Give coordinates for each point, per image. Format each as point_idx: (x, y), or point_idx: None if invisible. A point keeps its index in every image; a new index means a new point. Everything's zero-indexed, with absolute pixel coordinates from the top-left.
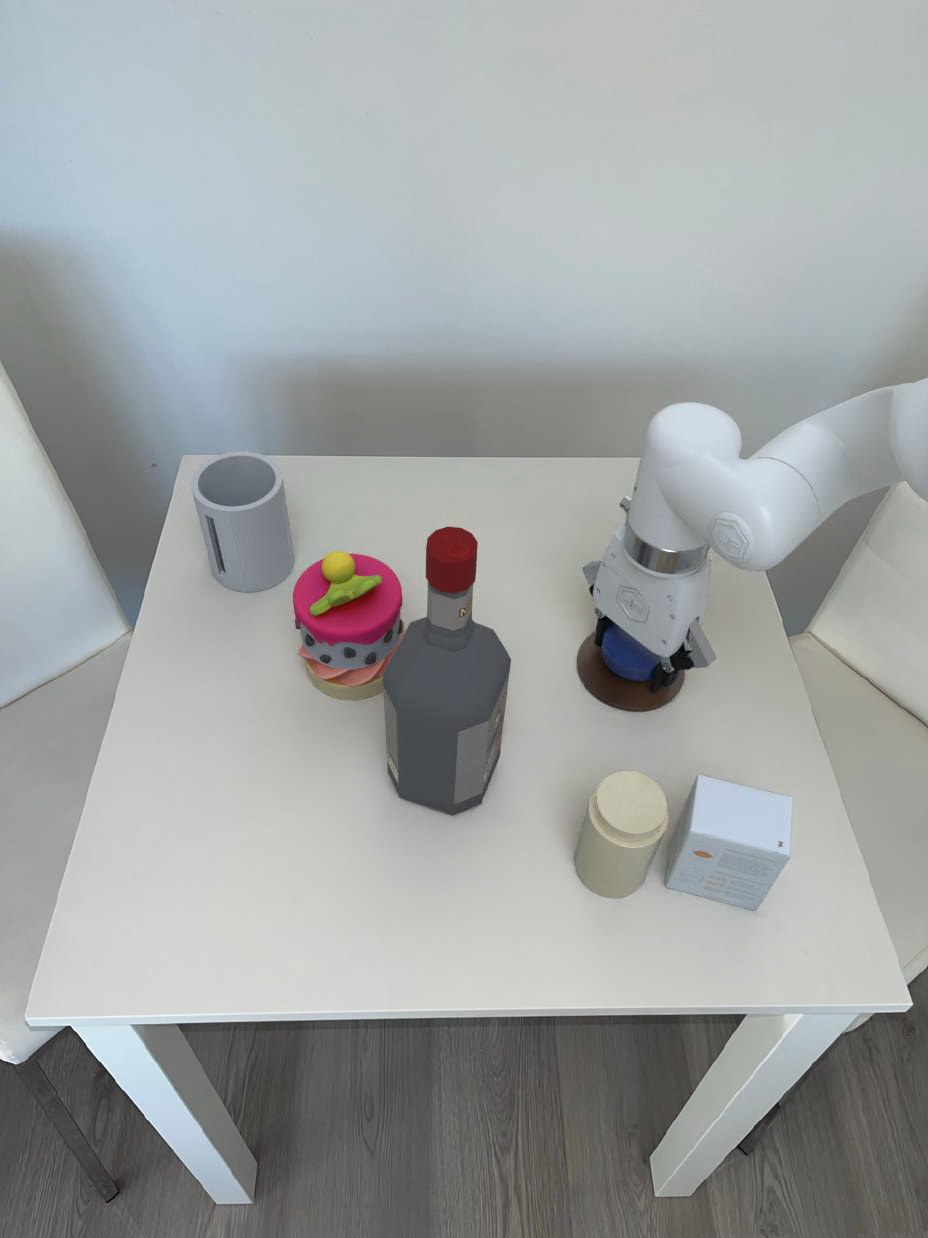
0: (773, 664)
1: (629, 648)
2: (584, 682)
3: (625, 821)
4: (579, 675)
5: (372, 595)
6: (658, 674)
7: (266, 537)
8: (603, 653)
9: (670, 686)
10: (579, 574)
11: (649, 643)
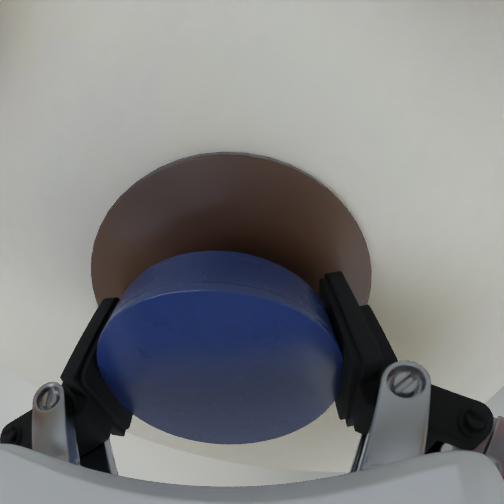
0: (138, 430)
1: (205, 364)
2: (249, 155)
3: None
4: (286, 164)
5: None
6: (72, 357)
7: None
8: (268, 273)
9: None
10: (459, 335)
11: (14, 489)
